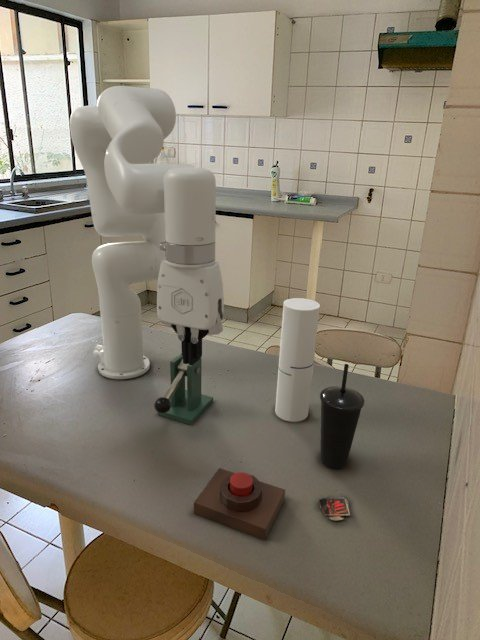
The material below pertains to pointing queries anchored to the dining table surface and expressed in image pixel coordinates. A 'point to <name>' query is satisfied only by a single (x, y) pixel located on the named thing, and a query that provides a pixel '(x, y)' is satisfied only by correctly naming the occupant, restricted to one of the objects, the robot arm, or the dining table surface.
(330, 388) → the drinking cup
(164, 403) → the switch lever
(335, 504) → the matchbox
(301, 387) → the cylindrical container
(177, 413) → the switch bracket
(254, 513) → the switch block
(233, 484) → the button
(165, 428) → the dining table surface
